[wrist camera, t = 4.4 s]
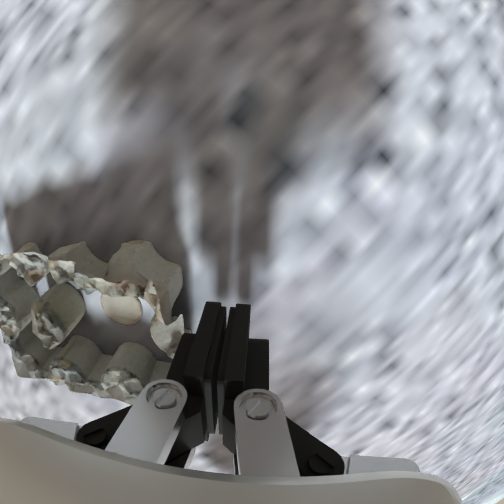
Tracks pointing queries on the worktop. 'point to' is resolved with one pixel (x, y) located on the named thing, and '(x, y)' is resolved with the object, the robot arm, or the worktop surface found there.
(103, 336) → the worktop surface
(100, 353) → the egg carton
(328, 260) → the worktop surface
